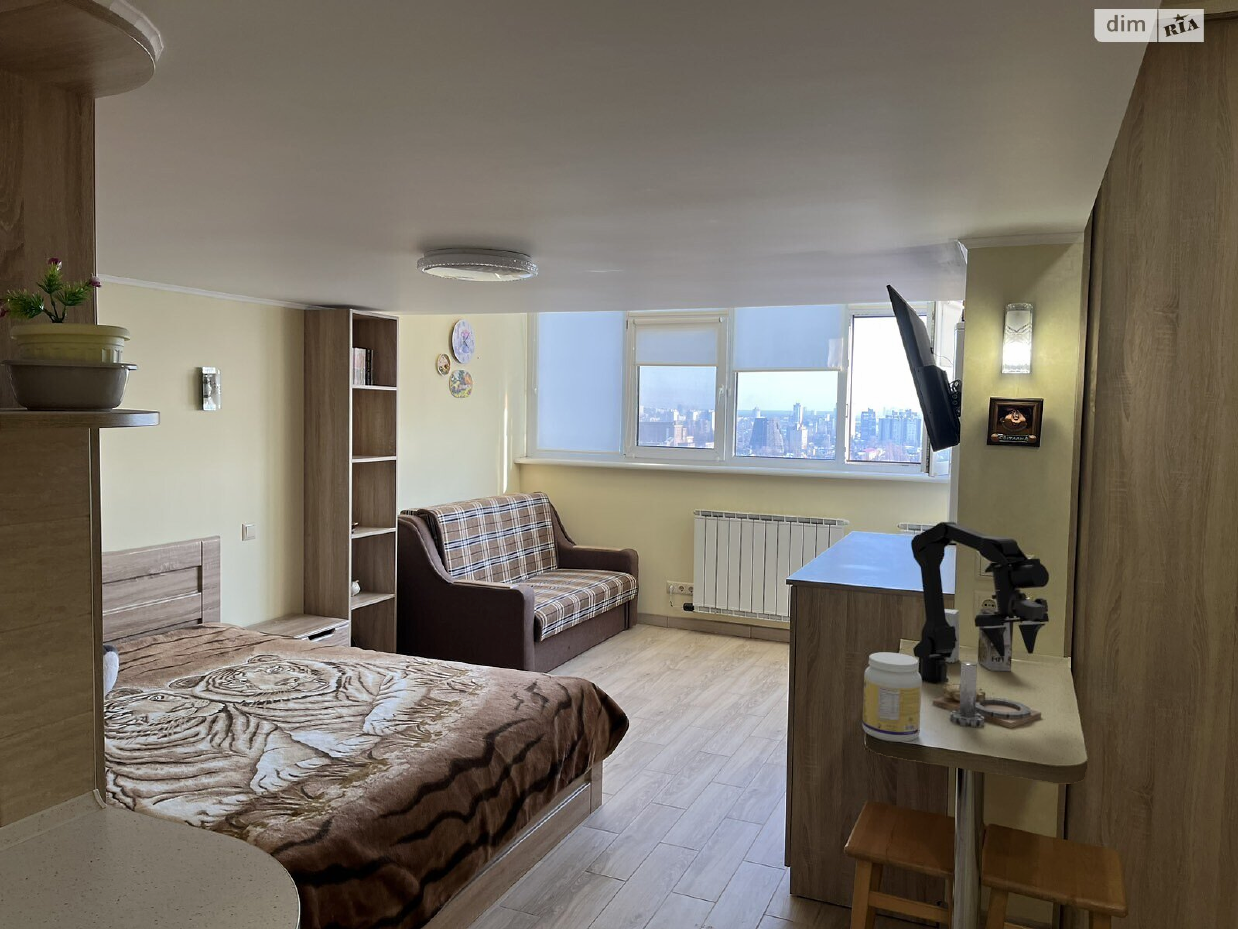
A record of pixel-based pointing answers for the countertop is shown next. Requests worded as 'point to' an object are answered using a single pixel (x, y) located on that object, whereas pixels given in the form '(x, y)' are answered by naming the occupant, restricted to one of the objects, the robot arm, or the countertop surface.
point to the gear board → (989, 707)
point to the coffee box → (987, 650)
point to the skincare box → (953, 620)
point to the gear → (967, 698)
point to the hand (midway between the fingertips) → (1016, 655)
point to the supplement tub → (892, 697)
